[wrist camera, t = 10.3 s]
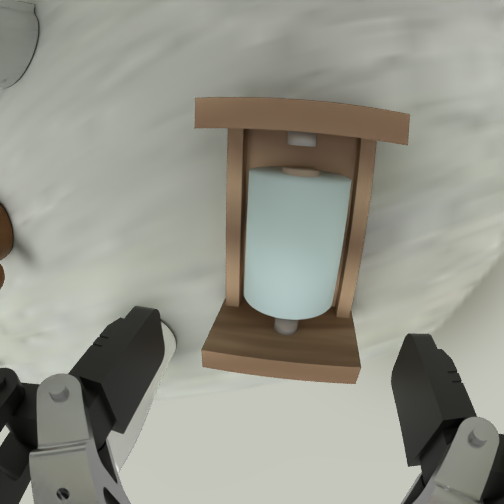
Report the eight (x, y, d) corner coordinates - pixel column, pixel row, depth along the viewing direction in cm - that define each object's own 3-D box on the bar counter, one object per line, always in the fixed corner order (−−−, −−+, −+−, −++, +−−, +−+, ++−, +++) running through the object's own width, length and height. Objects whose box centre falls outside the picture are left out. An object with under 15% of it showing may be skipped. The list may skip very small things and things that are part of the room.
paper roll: (256, 159, 21) (240, 171, 15) (344, 168, 20) (361, 183, 15) (250, 273, 24) (235, 317, 19) (328, 281, 24) (335, 327, 18)
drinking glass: (186, 318, 28) (110, 448, 15) (183, 368, 31) (126, 486, 17) (122, 299, 29) (28, 404, 15) (127, 349, 32) (55, 451, 18)
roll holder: (232, 107, 21) (195, 97, 13) (374, 118, 19) (409, 114, 12) (229, 304, 27) (202, 366, 20) (346, 316, 26) (355, 383, 18)
